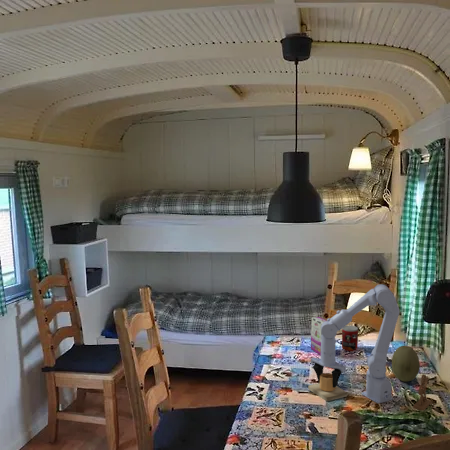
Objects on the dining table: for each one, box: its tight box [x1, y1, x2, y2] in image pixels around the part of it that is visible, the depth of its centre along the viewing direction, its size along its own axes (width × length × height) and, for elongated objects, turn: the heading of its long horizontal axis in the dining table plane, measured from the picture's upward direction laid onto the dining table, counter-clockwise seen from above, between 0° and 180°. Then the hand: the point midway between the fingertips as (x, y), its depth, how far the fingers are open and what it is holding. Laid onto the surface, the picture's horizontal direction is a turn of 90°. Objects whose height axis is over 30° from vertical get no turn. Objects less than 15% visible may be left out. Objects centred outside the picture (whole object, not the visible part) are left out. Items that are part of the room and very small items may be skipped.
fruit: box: [391, 345, 421, 383], centre depth 204 cm, size 11×11×15 cm
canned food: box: [341, 325, 359, 353], centre depth 241 cm, size 8×8×11 cm
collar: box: [320, 372, 335, 391], centre depth 193 cm, size 6×6×5 cm
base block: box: [307, 382, 348, 402], centre depth 193 cm, size 12×10×2 cm
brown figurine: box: [412, 374, 433, 412], centre depth 181 cm, size 9×4×12 cm, turn 138°
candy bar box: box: [310, 316, 327, 357], centre depth 237 cm, size 11×5×16 cm, turn 17°
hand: (327, 384), depth 193 cm, fingers closed on collar, 6 cm apart
